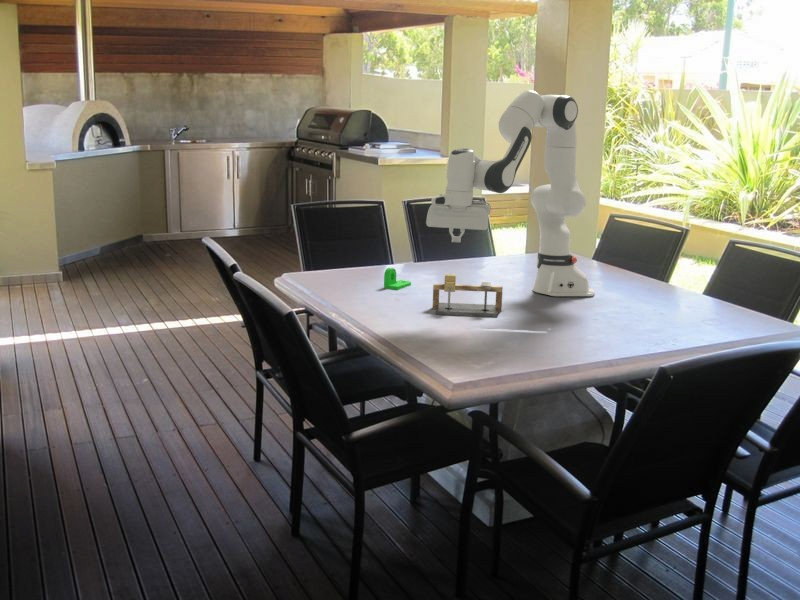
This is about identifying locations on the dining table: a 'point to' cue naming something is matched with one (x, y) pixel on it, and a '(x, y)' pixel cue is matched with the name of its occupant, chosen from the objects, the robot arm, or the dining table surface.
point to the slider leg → (449, 285)
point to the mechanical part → (394, 280)
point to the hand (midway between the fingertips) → (456, 242)
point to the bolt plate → (466, 310)
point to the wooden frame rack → (483, 287)
